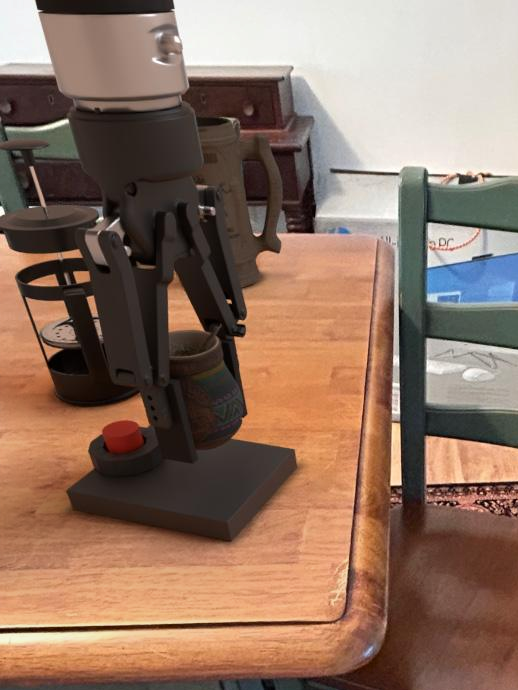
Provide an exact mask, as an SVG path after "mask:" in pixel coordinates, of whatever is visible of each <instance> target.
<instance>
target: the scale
mask: <svg viewBox="0 0 518 690" xmlns="http://www.w3.org/2000/svg"><path fill="white" fill-rule="evenodd" d="M139 428H140V431H141V434H142V438H143V441H144V445H143V446H142V447H141V448H139V449H137V450H134V451H132V452H129V453H119V454H116V453H110V452H109V451H108V449H107V446H106V443H105V440H104V437H103V434H102V433H101V434H99V435H97V436H96V437H95V438H94V439H92V440H90V443H89V445H88V450H87V453H88V455H89V458H90V461H91V464H92V466H93V469H92V470H91V471H89V472H88V473H86V474H85V475H84V476H82V477H81V478H80V479H79V480H77V481H76V482H75V483H73V484H72V485H71V486H69V487H68V488H67V489H66V490H65V493H66V495H67V498H68V500H69V503H70V506H71V508H72V510H73V511H79V512H84V513H88V514H94V515H97V516H98V515H99V516H104V517H109V518H113V519H119V520H123V521H128V522H134V523H139V524H143V525H148V526H154V527H158V528H163V529H169V530H174V531H179V532H183V533H188V534H193V535H199V536H202V537H209V538H213V539H218V540H224V541H228V542H232V541H234V539H236V537H237V536H238V535H239V534H240V533H241V532H242V530H243V529H244V528H245V527H246V526H247V525H248V523H249V522H250V521H251V520H252V519H253V518H254V516H256V515H257V513H258V512H259V511H260V510H261V509H262V508H263V507H264V506H265V505H266V503H267V502H268V501H269V500H270V499H271V498H272V497H273V495H274V494H275V493H276V492H277V491H278V490H279V488H280V487H281V486H283V484H284V483H285V482H286V481H287V480H288V478H289V477H290V476H291V475H292V474H293V473H294V471H296V469H297V468H298V464H297V463H298V462H297V455H296V450H295V448H290V447H284V446H278V445H274V444H273V445H272V444H268V443H267V444H266V443H261V442H254V441H248V440H243V439H236V438H231V439H230V440H229V441H228V442H226V443H225V444H223V445H221V446H219V447H217V448H213V449H209V450H196V452H197V456H198V460H197V461H196V462H195V463H193V464H190V463H185V462H179V461H173V460H168V459H163V458H162V455H161V451H160V448H159V444H158V441H157V437H156V434H155V430H154V427H153V426H151V424H149V425H148V426H147V427H145V426H140V425H139Z"/></svg>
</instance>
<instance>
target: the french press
mask: <svg viewBox="0 0 518 690" xmlns="http://www.w3.org/2000/svg"><path fill="white" fill-rule="evenodd" d="M49 147H51V142H50V141H47V140H45V139H42V138H33V137H31V138H30V137H24V138H23V137H22V138H14V139H9V140H6V141H4V142H1V143H0V151H1V150H2V151H9V152H20V154H21V158H22V160H23V163H24V166H25V167H29V171H30V174H31V176H32V180H33V183H34V186H35V189H36V192H37V196H38V198H39V201H40V202H39V203H40V204H41V205H39V206H32V207H27V208H21V209H17V210H13V211H9V212H7V213H4V214H2V215H0V231H2V232H3V234H4V237H5V240H6V243H7V245H8V247H9V249H10V250H12V251H14V252H17V253H20V254H21V253H23V254H31V255H46V254H47V255H48V254H57V257H58V258H56V259H49V260H45V261H41V262H37V263H34V264H33V263H32V264H31V265H28V266H25V267H24V268H21V269H20V270H19V271H17V272H16V274H15V275H14V280H15V283H16V285H17V287H18V290H19V293H20V296H21V299H22V301H23V304H24V307H25V309H26V312H27V315H28V318H29V321H30V323H31V325H32V329H33V331H34V334H35V337H36V339H37V340H36V341H37V343H38V345H39V348H40V351H41V353H42V356H43V358H44V362H45V364H46V367H47V370H48V373H49V375H50V378H51V381H52V383H53V391H54V392H53V393H54V395H55V397H56V399H57V400H59V402H61V403H64V404H66V405H70V406H74V407H101V406H105V405H106V406H107V405H112V404H117V403H120V402H123V401H126V400H128V399H130V398H133V397H135V396H136V395H138V394H140V391H139V388H136V387H130V386H123V385H117V384H114V383H113V381H112V379H111V375H110V370H109V365H108V360H107V356H106V351H105V346H104V342H103V337H102V332H101V327H100V323H99V318H98V313H92V310H91V307H90V304H89V300H88V298H89V297H94V294H93V290H92V285H91V280H90V279H89V280H87V281H83V282H77V279H76V276H75V273H76V272H89V271H88V268H87V266H86V264H85V261H84V259H83V257H80V256H79V257H63V254H62V253H66V252H73V251H77V250H78V251H79V249H78V246H77V244H76V242H75V231H76V230H77V229H78V228H87V229H93V228H94V227H95V226H97V225H98V224H97V221H98V220H99V219H100V214H99V211H98V210H97V209H96V208H93V207H90V206H86V205H77V204H51V205H50V204H49V205H47V203H46V201H45V197H44V195H43V191H42V189H41V186H40V185H41V184H40V182H39V179H38V175H37V173H36V170H35V167H37V161H36V158H35V155H34V150H40V149H45V148H49ZM54 275H55V278H56V281H57V285H35V284H30V283H32V282H33V281H36V280H38V279H42V278H45V277H48V276H49V277H50V276H54ZM27 299H30V300H34V301H35V300H36V301H43V302H61V301H62V302H63V303H64V306H65V309H66V312H67V315H68V316H66V317H62V318H59V319H57V320H54V321H52V322H49V323H48V324H45V325H44V326H43V327H42V328H40V330H39V332H38V328H37V326H36V323H35V320H34V317H33V315H32V312H31V309H30V306H29V303H28V301H27ZM43 344H44V345H46V346H48V347H51V348H53V349H60V350H58V351H56V352H55V353H53V354H52V355H50V357H49V358H48V355H47V353H46V350H45V347H44V345H43Z"/></svg>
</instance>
